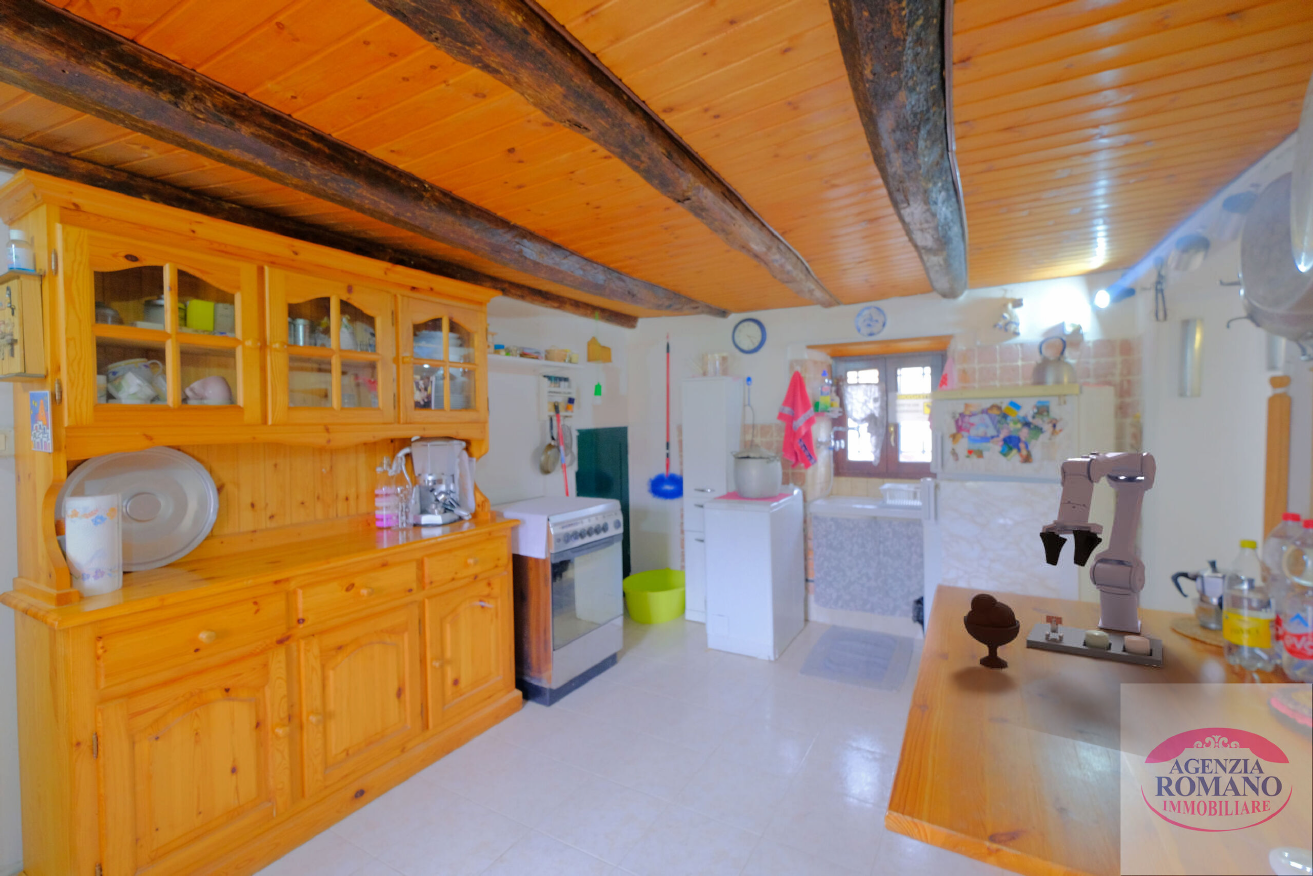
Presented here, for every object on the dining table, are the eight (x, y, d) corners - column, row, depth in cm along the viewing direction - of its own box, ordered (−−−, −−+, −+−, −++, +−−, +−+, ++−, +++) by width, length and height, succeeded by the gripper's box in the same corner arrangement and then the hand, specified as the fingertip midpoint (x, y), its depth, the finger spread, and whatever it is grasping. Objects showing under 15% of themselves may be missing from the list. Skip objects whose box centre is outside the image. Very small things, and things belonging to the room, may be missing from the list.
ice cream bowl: (965, 670, 127) (961, 600, 127) (966, 652, 137) (962, 587, 136) (1024, 677, 122) (1019, 604, 122) (1019, 657, 132) (1016, 590, 131)
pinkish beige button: (1125, 647, 131) (1124, 634, 131) (1150, 650, 128) (1149, 637, 128) (1124, 653, 128) (1123, 640, 128) (1149, 656, 125) (1149, 643, 125)
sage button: (1086, 641, 135) (1085, 629, 135) (1109, 644, 133) (1108, 632, 133) (1084, 647, 132) (1084, 634, 132) (1108, 650, 130) (1107, 637, 129)
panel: (1036, 628, 149) (1035, 618, 149) (1162, 646, 133) (1161, 635, 133) (1026, 645, 138) (1026, 635, 138) (1162, 667, 122) (1161, 655, 122)
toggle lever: (1047, 632, 139) (1047, 615, 140) (1062, 634, 137) (1062, 617, 138) (1046, 631, 138) (1046, 615, 139) (1061, 633, 136) (1061, 617, 137)
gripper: (1034, 504, 143) (1024, 558, 140) (1086, 499, 129) (1076, 559, 126) (1060, 514, 143) (1050, 568, 140) (1114, 510, 129) (1105, 570, 126)
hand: (1064, 564), depth 133 cm, fingers open, 7 cm apart
